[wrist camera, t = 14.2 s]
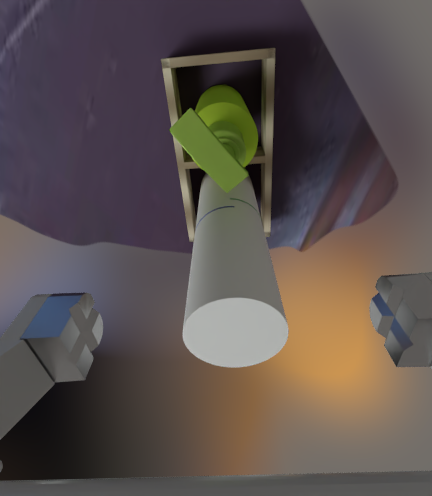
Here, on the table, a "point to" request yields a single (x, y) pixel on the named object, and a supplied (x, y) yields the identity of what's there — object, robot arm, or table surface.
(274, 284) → the cylindrical container
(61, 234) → the table surface
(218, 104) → the soap dispenser
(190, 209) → the frame
